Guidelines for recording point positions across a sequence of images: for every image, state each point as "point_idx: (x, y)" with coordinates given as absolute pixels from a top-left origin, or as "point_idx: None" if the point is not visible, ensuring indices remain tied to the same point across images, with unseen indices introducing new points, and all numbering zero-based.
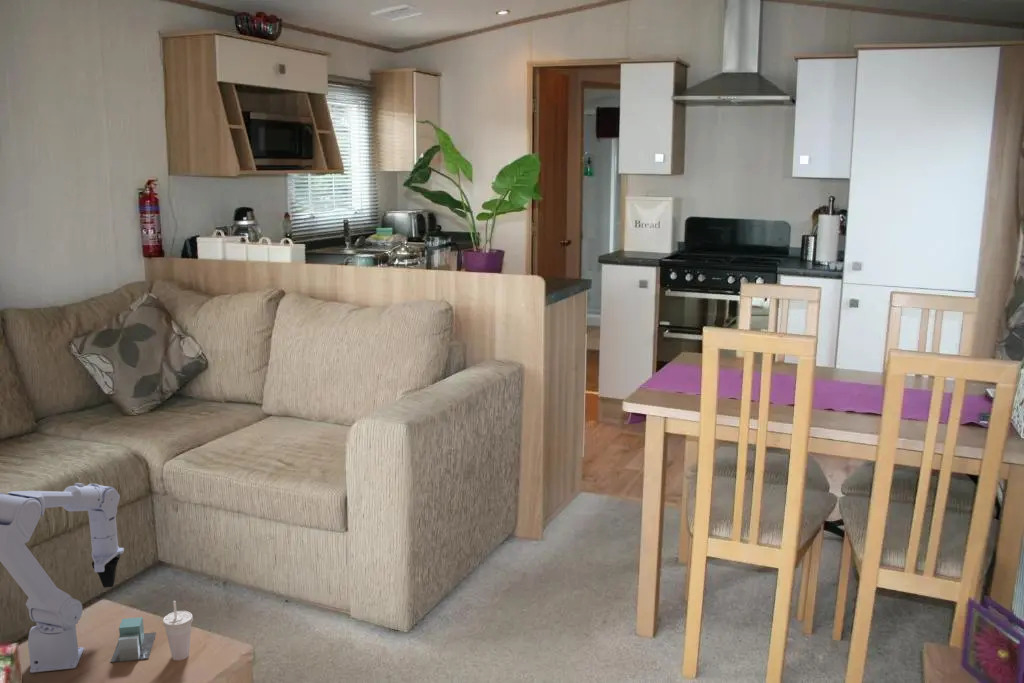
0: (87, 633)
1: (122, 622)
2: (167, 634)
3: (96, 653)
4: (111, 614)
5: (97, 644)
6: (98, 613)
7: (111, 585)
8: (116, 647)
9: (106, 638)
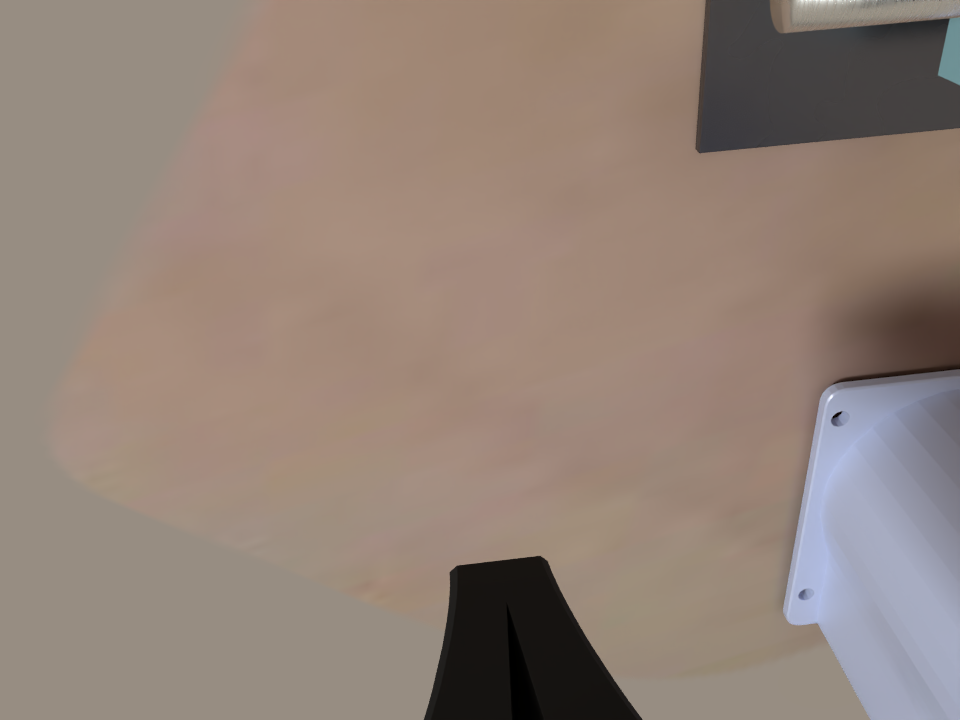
0: (564, 434)
1: None
2: None
3: (918, 273)
4: (245, 353)
5: (769, 309)
6: (228, 458)
7: (557, 587)
8: (914, 127)
9: (686, 267)
